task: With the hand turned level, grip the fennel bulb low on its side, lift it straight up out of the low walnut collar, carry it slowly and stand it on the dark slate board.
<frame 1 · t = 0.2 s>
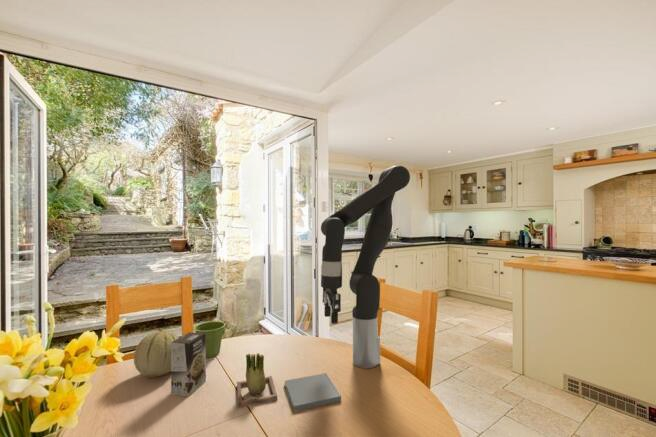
hand: (330, 319, 106), 18 cm above the table, tool pointing down, fingers open, 8 cm apart
walnut collar: (256, 392, 92), on the table
slate board: (311, 392, 92), on the table
fennel bulb: (256, 393, 92), resting in walnut collar
cantaloupe: (159, 374, 104), on the table
coffee box: (189, 388, 95), on the table
plant pot: (210, 354, 120), on the table
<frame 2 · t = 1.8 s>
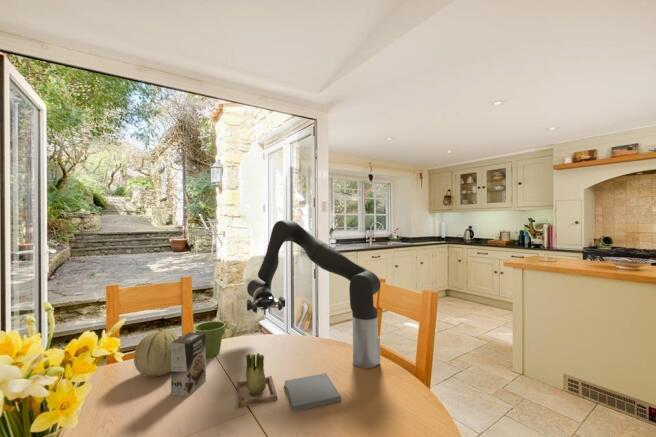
hand: (268, 308, 107), 21 cm above the table, tool horizontal, fingers open, 8 cm apart
nothing on the table moved.
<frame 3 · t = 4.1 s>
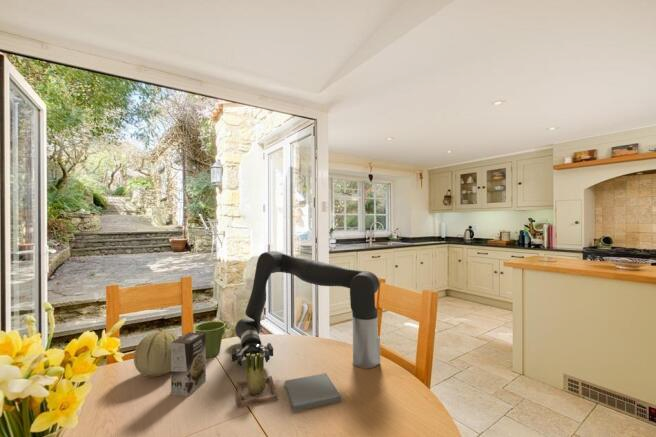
hand: (254, 361, 100), 6 cm above the table, tool horizontal, fingers open, 8 cm apart
nothing on the table moved.
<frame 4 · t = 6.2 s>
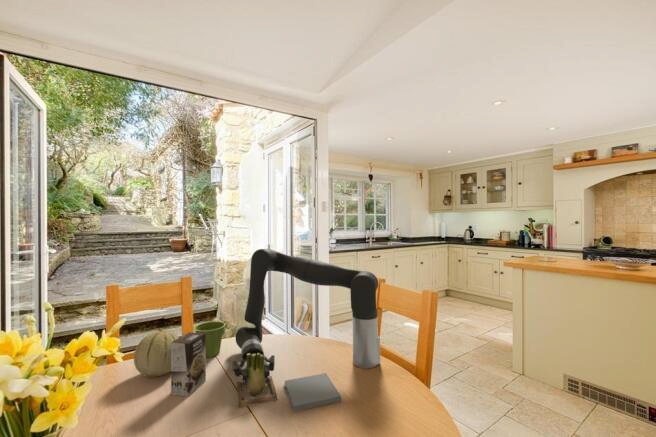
hand: (256, 376, 90), 6 cm above the table, tool horizontal, fingers closed on fennel bulb, 5 cm apart
fennel bulb: (256, 393, 92), resting in walnut collar, touching gripper
everything else where it was.
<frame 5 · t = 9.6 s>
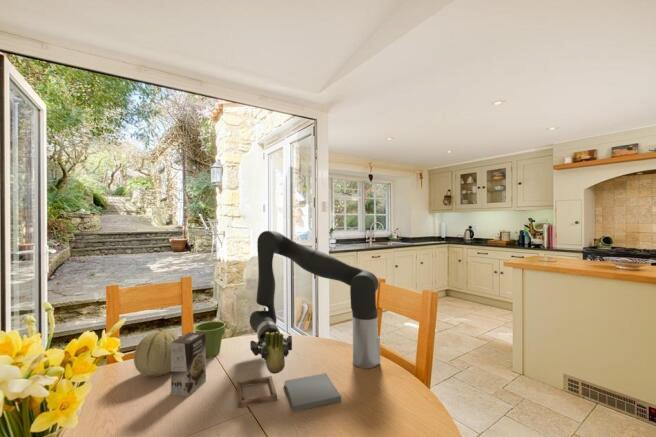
hand: (276, 355, 90), 13 cm above the table, tool horizontal, fingers closed on fennel bulb, 5 cm apart
fennel bulb: (275, 371, 92), point 6 cm above the table, touching gripper
everything else where it was.
when the fingers open (8 cm above the table, at t = 12.8 s): fennel bulb stays where it is, resting on slate board.
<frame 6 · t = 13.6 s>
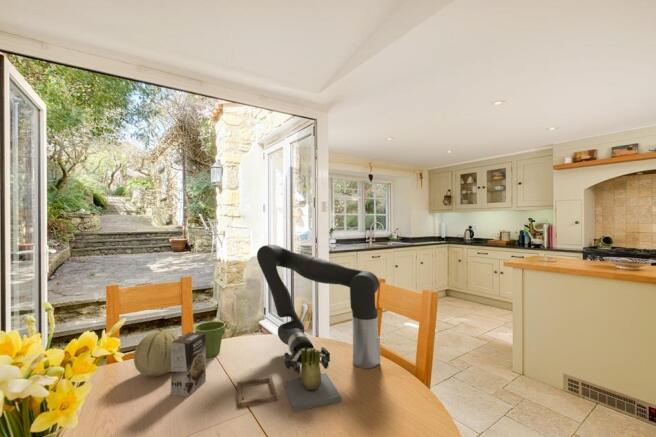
hand: (312, 367, 90), 9 cm above the table, tool horizontal, fingers open, 8 cm apart
fennel bulb: (311, 388, 92), point 1 cm above the table, touching slate board
everything else where it was.
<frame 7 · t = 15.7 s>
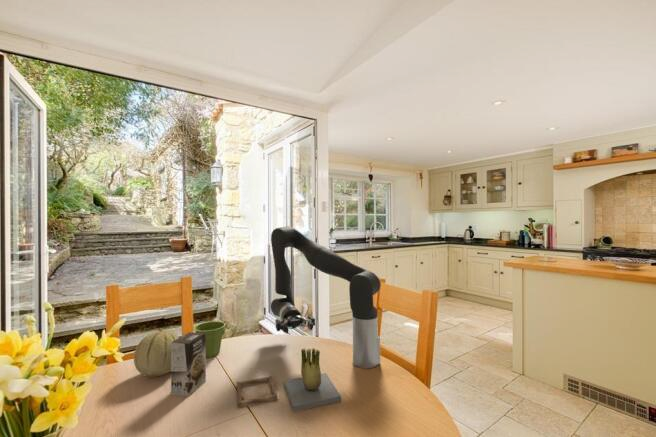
hand: (299, 328, 104), 15 cm above the table, tool horizontal, fingers open, 8 cm apart
nothing on the table moved.
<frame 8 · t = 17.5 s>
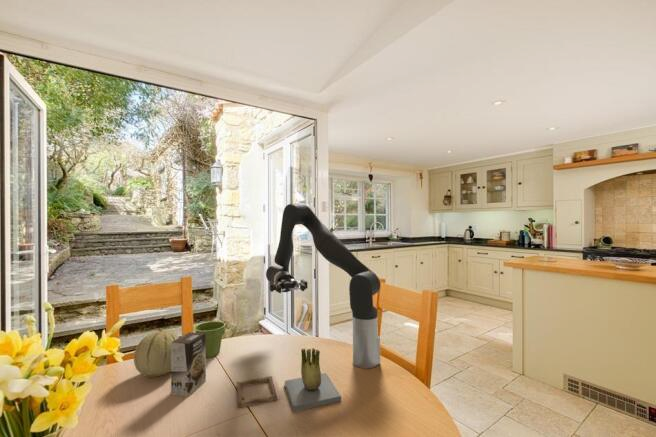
hand: (292, 289, 108), 28 cm above the table, tool horizontal, fingers open, 8 cm apart
nothing on the table moved.
at the end: fennel bulb inside the target area on the slate board (0.1 cm from its centre), point 1.3 cm above the slate board's base; fennel bulb tilted 0°; the gripper is holding nothing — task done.
